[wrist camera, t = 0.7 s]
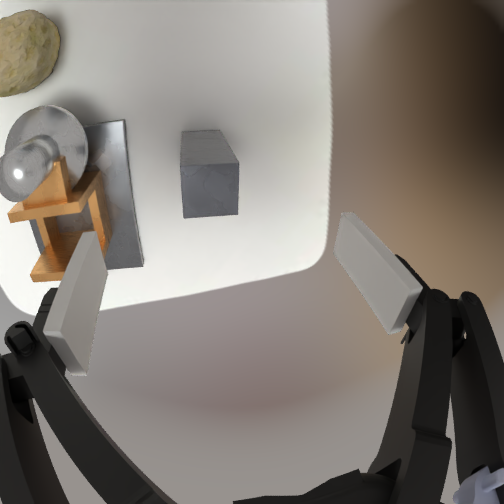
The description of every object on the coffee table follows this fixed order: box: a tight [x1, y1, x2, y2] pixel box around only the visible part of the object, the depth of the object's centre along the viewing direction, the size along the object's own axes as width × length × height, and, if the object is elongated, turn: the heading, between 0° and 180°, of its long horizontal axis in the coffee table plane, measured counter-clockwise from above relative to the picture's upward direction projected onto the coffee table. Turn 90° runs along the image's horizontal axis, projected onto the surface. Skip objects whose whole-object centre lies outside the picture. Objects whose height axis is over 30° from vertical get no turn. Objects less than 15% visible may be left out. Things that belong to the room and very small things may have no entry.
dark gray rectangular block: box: [180, 130, 239, 219], centre depth 25 cm, size 4×4×12 cm
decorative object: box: [0, 10, 60, 97], centre depth 16 cm, size 9×10×10 cm
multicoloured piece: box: [0, 105, 144, 282], centre depth 24 cm, size 22×14×12 cm, turn 178°
